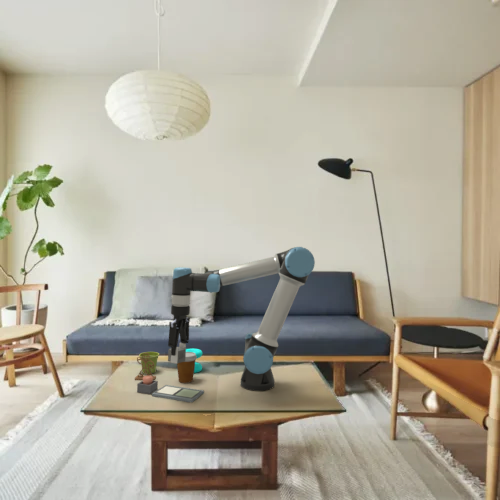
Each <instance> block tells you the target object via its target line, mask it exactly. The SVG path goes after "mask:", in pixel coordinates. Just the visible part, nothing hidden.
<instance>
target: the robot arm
mask: <svg viewBox="0 0 500 500" xmlns="http://www.w3.org/2000/svg"><path fill="white" fill-rule="evenodd" d="M315 263H316V261H315V258H314V255H313V253H312V251H310V249H307V247H303V246H296V247H295V246H294V247H291V248H289V249H287V250H285V251H282V252H279V253H275V255H273V256H271V257H267V258H262V259H257V260H254V261H249V262H244V263H241V264H236V265H233V266H232V265H231V266H228V267H224V268H219V269H216V270H214V269H213V270H209V271H206V272H204V273H194V272H193V271H192V268H190V267H183V266H182V267H180V266H179V267H175V268H174V269H173V274H172V285H171V286H172V287H171V289H172V291H171V292H172V293H171V306H170V307H171V310H170V314H171V315H173V320H172V321H169V323H168V326H169V327H168V328H169V330H168V341H167V342H168V345H167V346H168V347H169V348H170V349H171V362H170V363H171V364H176V365H177V361H178V347H180V348H183V349H187V344H189V343H190V342H189V340H190V320H191V317H187V316H189V315H190V312H191V310H190V309H191V306H190V304H191V292H200V293H201V292H202V293H210V294H211V293H218V292H220V289H221V287H223V286H228V285H232V284H237V283H241V282H246V281H250V280H255V279H258V278H263V277H264V278H265V277H267V276H272V275H276V274H278V275H279V280H278V283H277V286H276V288H275V290H274V292H273V294H272V297H271V299H270V302H269V304H268V307H267V309H266V310H265V314H264V315H263V318H262V320H261V323H260V324H259V326H258V329H257V331H256V332H248V333H246V334H245V338H244V342H245V343H244V345H245V346H244V353H243V356H242V357H243V358H242V360H243V363H244V369H243V370H242V374H241V377H240V386H241V387H242V388H244V389H246V390H249V391H268V390H271V389H273V388H274V387H275V377H274V375H273V371H272V366H273V363H274V357H275V354H276V353H277V351H278V350H277V349H278V348H279V343H278V338H279V336H280V334H281V331H282V330H283V327H284V324H285V322H286V319H287V317H288V315H289V312H290V310H291V308H292V306H293V304H294V301H295V299H296V297H297V294H298V291H299V289H300V287H302V286H305V285H306V282H307V280H308V277H309V276H310V274H311V273H312V272H313V271H314V268H315V265H316V264H315ZM179 340H180V342H179ZM272 387H273V388H272ZM270 388H271V389H270ZM267 389H268V390H267Z"/></svg>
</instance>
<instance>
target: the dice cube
mask: <svg viewBox="0 0 500 500" xmlns="http://www.w3.org/2000/svg"><path fill="white" fill-rule="evenodd" d="M177 347H178V361H177V364H178V363H181V362H184V361H185V357H186V349H187V348H186V349H183V348H180V347H179V346H177ZM167 354H168V356H167V361H168V362H170V363H171V348H168V351H167ZM177 364H176V365H177Z"/></svg>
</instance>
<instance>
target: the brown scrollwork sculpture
mask: <svg viewBox="0 0 500 500" xmlns="http://www.w3.org/2000/svg"><path fill="white" fill-rule="evenodd" d="M143 353H144V352H143ZM144 354H148V353H144ZM148 355H149V354H148ZM143 357H149V358H150V355H149V356H145V355H144V356H143V355H142V359H143V360H142V359H141V357H140V356H137V357H136V362H137V363H138V364H139V365H141V370H140V372H139V373H138V375H137V376H135V377H134V381H143V377H144V376H145V375H146V376H153V380H154V381H156V379H157V376H156V375H153V373H151V371H150V370H149V365H150V364H148V368H146V363H147V362H148V361H150V362H152V361H151V360H149V359H148V358H147V359H148V360H147V359H145V358H143ZM144 359H145V360H144ZM139 361H140V362H139ZM141 361H144V363H145V367H143V364H141ZM152 363H153V362H152ZM151 366H154V363H153V365H150V368H154V367H151ZM142 369H148V370H149V372H150V374H148V373H147V372H146V370H145V372H146V374H144V373H145V372H144V373H143V374H142Z"/></svg>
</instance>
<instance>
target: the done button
mask: <svg viewBox="0 0 500 500" xmlns="http://www.w3.org/2000/svg"><path fill="white" fill-rule="evenodd" d="M143 376H144V377H143V384H146V385H150V384H152V383H153V376H154V375H153V376H152V375H150V376H147V375H143Z"/></svg>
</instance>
